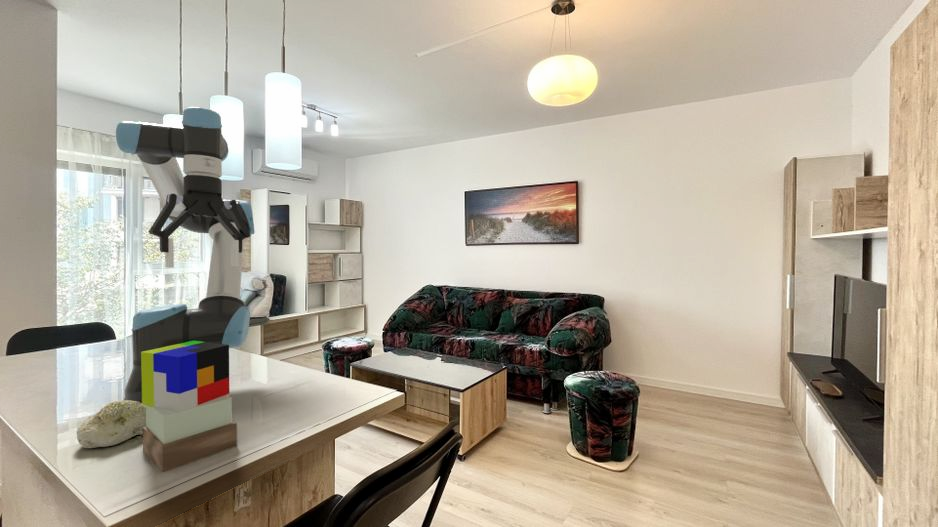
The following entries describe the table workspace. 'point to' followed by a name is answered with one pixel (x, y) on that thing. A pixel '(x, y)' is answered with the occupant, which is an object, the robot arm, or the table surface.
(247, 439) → the table surface
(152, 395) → the puzzle toy
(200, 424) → the sage slab
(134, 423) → the decorative item
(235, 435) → the walnut slab
